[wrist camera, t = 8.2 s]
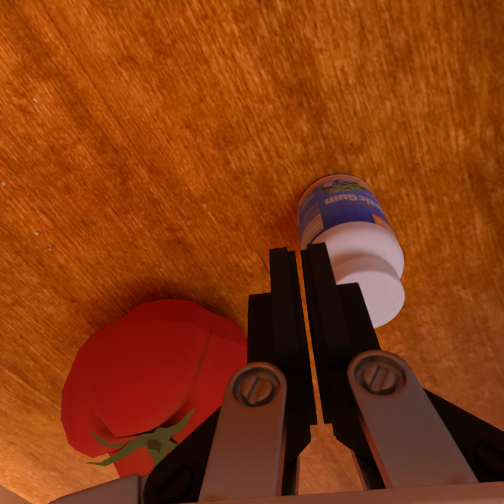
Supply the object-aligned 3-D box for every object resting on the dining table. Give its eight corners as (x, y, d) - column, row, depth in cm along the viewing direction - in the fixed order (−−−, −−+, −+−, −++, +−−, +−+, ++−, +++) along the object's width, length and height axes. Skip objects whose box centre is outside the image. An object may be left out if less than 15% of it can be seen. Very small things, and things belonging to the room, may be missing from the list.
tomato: (66, 322, 34) (-9, 458, 25) (193, 241, 30) (161, 371, 20) (171, 400, 40) (144, 534, 31) (290, 344, 36) (303, 481, 26)
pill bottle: (389, 184, 27) (444, 273, 19) (354, 248, 30) (390, 349, 22) (312, 161, 26) (336, 245, 18) (285, 230, 29) (295, 328, 21)
